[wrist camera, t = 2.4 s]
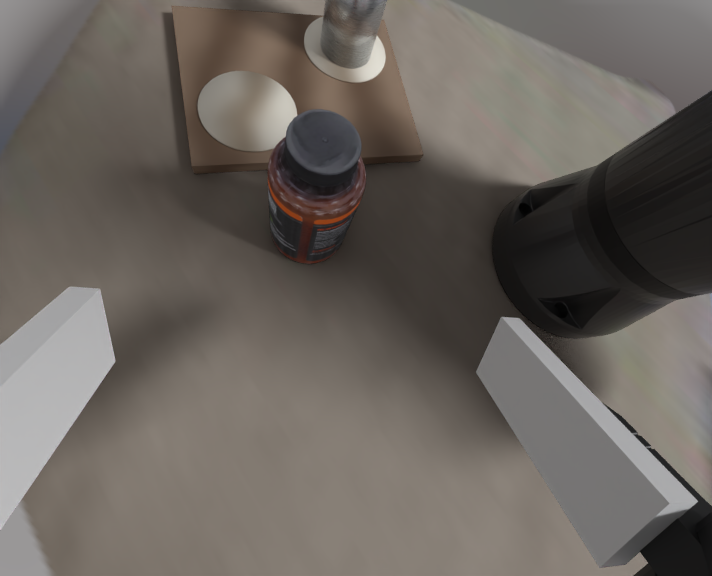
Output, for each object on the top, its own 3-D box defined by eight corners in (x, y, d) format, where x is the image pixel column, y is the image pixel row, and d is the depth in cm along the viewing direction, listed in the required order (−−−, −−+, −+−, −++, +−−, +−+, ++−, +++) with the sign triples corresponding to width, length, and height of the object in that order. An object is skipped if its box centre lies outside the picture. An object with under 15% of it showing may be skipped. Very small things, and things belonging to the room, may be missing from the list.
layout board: (381, 29, 36) (384, 18, 35) (419, 161, 32) (424, 153, 31) (174, 17, 30) (171, 3, 29) (194, 173, 27) (191, 165, 26)
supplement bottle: (355, 228, 29) (402, 140, 18) (314, 280, 27) (340, 215, 16) (299, 186, 29) (313, 73, 18) (254, 236, 27) (240, 141, 16)
